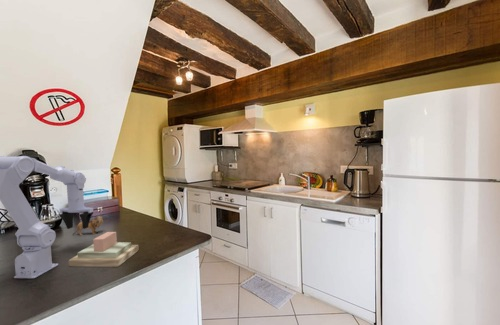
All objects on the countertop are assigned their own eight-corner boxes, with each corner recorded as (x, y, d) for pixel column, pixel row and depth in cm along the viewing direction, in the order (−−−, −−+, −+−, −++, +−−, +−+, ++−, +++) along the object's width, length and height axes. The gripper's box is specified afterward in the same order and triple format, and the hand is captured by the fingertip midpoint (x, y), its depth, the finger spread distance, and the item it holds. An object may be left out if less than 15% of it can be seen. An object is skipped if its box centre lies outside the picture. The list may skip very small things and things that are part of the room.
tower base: (118, 266, 84) (117, 255, 84) (68, 266, 85) (68, 255, 85) (138, 250, 98) (138, 240, 98) (96, 250, 99) (95, 240, 99)
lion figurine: (105, 230, 125) (104, 214, 125) (102, 233, 120) (101, 217, 120) (74, 233, 121) (73, 217, 120) (69, 237, 116) (68, 220, 115)
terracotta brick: (103, 251, 88) (102, 239, 87) (94, 251, 88) (93, 239, 88) (116, 243, 96) (116, 231, 95) (108, 243, 96) (107, 231, 96)
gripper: (97, 196, 103) (99, 225, 104) (68, 197, 104) (70, 225, 105) (85, 200, 96) (87, 230, 97) (54, 200, 97) (56, 230, 98)
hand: (77, 228), depth 100 cm, fingers open, 7 cm apart
